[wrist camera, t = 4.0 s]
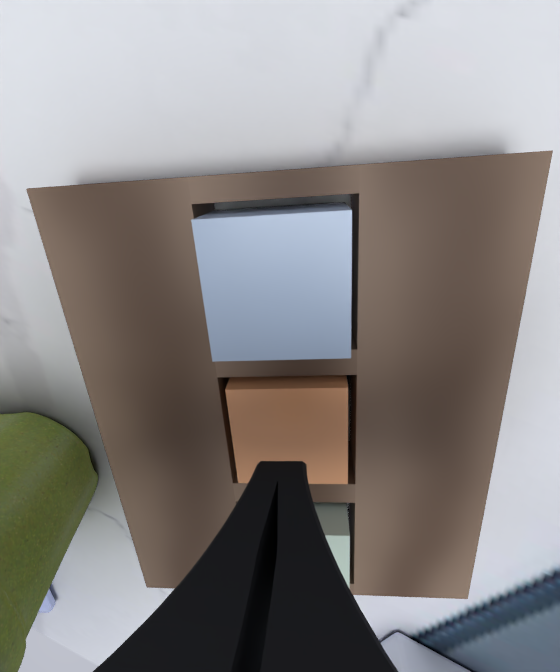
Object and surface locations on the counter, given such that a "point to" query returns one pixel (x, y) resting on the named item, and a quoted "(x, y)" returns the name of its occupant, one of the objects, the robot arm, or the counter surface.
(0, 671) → the plant pot
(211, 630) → the robot arm
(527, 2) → the counter surface
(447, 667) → the medicine bottle
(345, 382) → the button terracotta
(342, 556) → the button sage
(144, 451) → the button panel
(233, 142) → the counter surface
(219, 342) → the button slate
